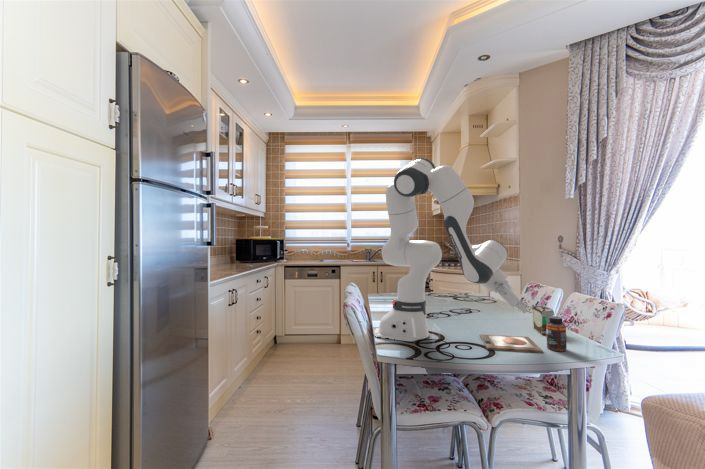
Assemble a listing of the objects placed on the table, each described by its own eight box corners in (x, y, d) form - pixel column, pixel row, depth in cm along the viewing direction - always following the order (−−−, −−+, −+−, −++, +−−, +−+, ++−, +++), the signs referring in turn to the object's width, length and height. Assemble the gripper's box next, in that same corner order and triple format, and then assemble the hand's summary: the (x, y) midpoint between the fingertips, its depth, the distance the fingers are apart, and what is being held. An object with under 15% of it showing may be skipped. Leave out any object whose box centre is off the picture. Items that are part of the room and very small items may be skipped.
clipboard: (487, 349, 115) (487, 345, 115) (479, 336, 130) (479, 332, 130) (543, 352, 111) (543, 348, 111) (528, 338, 126) (528, 335, 126)
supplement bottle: (568, 349, 115) (567, 317, 115) (564, 353, 110) (564, 320, 110) (548, 345, 119) (548, 314, 119) (544, 349, 114) (544, 317, 114)
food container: (560, 337, 128) (559, 311, 129) (543, 336, 130) (542, 311, 130) (547, 328, 140) (547, 305, 141) (532, 328, 142) (532, 305, 142)
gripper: (503, 278, 111) (535, 309, 107) (500, 272, 130) (527, 298, 126) (489, 290, 113) (521, 321, 109) (488, 283, 132) (515, 309, 128)
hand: (524, 308), depth 118 cm, fingers open, 8 cm apart
